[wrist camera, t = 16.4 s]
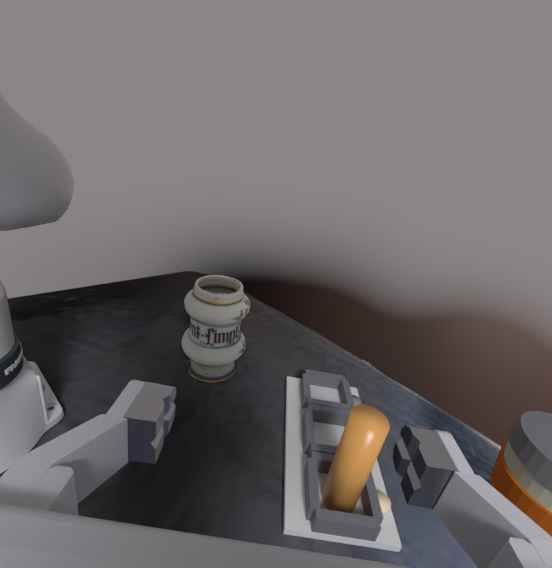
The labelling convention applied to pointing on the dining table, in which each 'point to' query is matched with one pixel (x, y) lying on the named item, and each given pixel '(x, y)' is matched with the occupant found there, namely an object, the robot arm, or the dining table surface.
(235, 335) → the apothecary jar
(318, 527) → the board
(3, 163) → the robot arm
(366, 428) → the orange rounded cylinder
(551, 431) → the reusable coffee cup
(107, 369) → the dining table surface
